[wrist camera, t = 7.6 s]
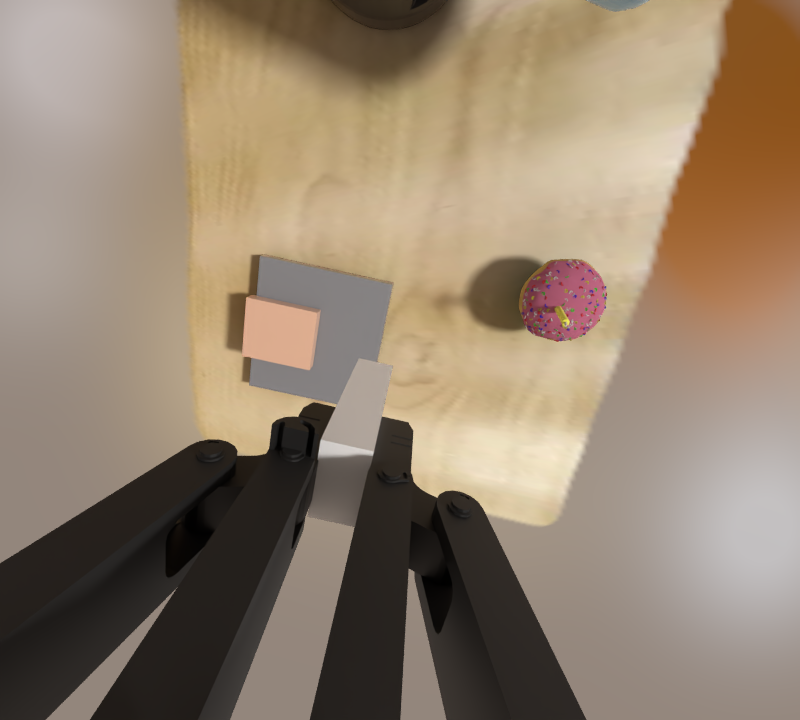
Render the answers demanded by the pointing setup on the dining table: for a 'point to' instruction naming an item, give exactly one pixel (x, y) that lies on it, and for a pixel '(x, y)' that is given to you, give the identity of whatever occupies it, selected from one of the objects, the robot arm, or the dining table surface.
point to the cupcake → (562, 300)
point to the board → (324, 325)
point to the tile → (280, 332)
